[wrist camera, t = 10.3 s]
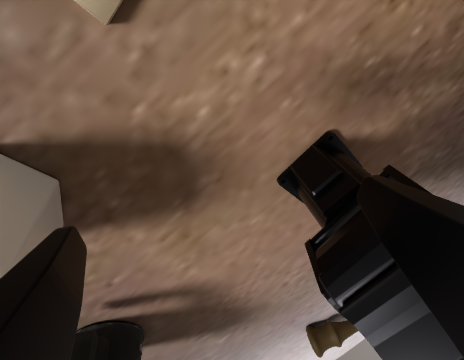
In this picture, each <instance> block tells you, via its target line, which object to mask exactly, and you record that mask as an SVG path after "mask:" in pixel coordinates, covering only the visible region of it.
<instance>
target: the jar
mask: <svg viewBox="0 0 464 360" xmlns="http://www.w3.org/2000/svg"><path fill="white" fill-rule="evenodd" d="M63 225H64V222H63V213H62V204H61V195H60V186H59V181H58V180H57V179H54V178H52V177H50V176H48V175H46V174H43V173H41V172H39V171H37V170H35V169H33V168H30V167H28V166H26V165H24V164H22V163H19V162H17V161H15V160H13V159H11V158H8V157H6V156H4V155H2V154H0V278H1V277H2V276H4V275H5V274H6V273H7V272H8V271H9V270H10V269H11V268H13V267H14V266H15V265H16V264H17V263H18V262H19V261H20V260H21V259H23V258H24V257H25V256H26V255H27V254H28V253H29V252H30V251H32V250H33V249H34V248H35V247H36V246H37V245H38V244H39V243H40V242H42V241H43V240H44V239H45V238H46V237H47V236H48V235H49V234H51V233H52V232H53V231H54V230H55V229H57V228H61V227H63Z"/></svg>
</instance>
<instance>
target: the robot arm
mask: <svg viewBox="0 0 464 360" xmlns="http://www.w3.org/2000/svg"><path fill="white" fill-rule="evenodd" d="M329 136H331V137H330V138H329ZM328 138H329V139H328ZM283 179H284V180H283ZM282 180H283V181H282ZM277 182H278V183H279V185H280V186H282V187H283V188H284V189H286V190H287V191H288V192H289V193H291V194H292V195H293V196H295V197H296V198H297V199H299V200H300V201H301V202H303V203H304V204H305V205H306V206H307V208H308V209H309V210H310V212H311V213H312V215H313V216H314V217H315V219H316V220H317V222H318V223H319V224H320V226H321V227H322V229H321V230H320V231H319V232H318V233H317V234H316V235H315V236H314V237H313V238H312V239H309V240H308V241H307V242H306V243H305V247H306V250H307V253H308V256H309V259H310V262H311V265H312V268H313V271H314V274H315V277H316V280H317V283H318V286H319V289H320V291H321V293H322V295H323V296H324V297H325V298H326V299H327V301H328V302H329V303H330V304H331V305H332V306H333V307H334V308H335V309H336V310H337V311H338V312H339V313H340V314H341V315H342V316H344V317H345V318H346V319H347V320H348V321H349V322H350V323H352V324H353V325H354V326H355V327H356V328H357V329H358V331H359V332H360V333H361V334H362V335H363V336H364V337H365V338H366V339H367V341H368V342H369V343H370V344H371V345H372V347H373V348H374V349H375V350H376V352H377V353H378V354H379V356H380V357H381V358H382V359H383V360H464V206H463V205H460V204H457V203H455V202H452V201H449V200H446V199H444V198H441V197H438V196H435V195H433V194H431V193H430V192H428V191H427V190H426V189H424V188H423V187H421V186H420V185H418V184H417V183H415V182H414V181H412V180H411V179H409V178H408V177H407V176H405V175H404V174H402V173H401V172H399V171H398V170H396V169H395V168H393V167H392V166H390V165H387V166H386V167H385V168H384V169H383V172H382V173H381V174H380V175H371V174H369V173H368V172H367V171H366V170H365V169H363V168H362V165H361V164H360V163H359V162H358V161H357V159H356V158H355V157H354V156H353V155H352V154H351V152H350V151H349V150H348V149H347V148H346V146H345V145H344V144H343V143H342V142H341V140H340V139H339V138H338V137H337V136H336V134H334V133H333V132H332V131H328V132H326V133H325V134H324V135H323V136H322V137H321V138H319V139H318V140H317V141H316V142H315V143H314V144H313V145H312V146H311V147H310V148H309V149H308V150H307V151H306V152H304V153H303V154H302V155H301V156H300V157H299V158H298V159H297V160H296V161H295V162H294V163H293V164H292V165H290V166H289V167H288V168H287V169H286V170H285V171H284V172H283V173H282V174H281V175H280V176H279V177H278V178H277ZM86 256H87V249H86V245H85V243H84V241H83V239H82V238H81V236H80V234H79V232H78V230H77V229H76V228H75V227H74V226H67V227H61V228H57V229H55V230H54V231H53V232H52V233H51V234H49V235H48V236H47V237H46V238H45V239H44V240H43V241H42V242H40V243H39V244H38V245H37V246H36V247H35V248H34V249H33V250H32V251H30V252H29V253H28V254H27V255H26V256H25V257H24V258H23V259H21V260H20V261H19V262H18V263H17V264H16V265H15V266H14V267H13V268H11V269H10V270H9V271H8V272H7V273H6V274H5V275H4V276H2V277H1V278H0V360H70V358H71V354H72V349H73V345H74V340H75V335H76V331H77V326H78V321H79V317H80V312H81V306H82V298H83V288H84V277H85V267H86Z"/></svg>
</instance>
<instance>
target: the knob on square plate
mask: <svg viewBox="0 0 464 360" xmlns="http://www.w3.org/2000/svg"><path fill="white" fill-rule="evenodd" d="M74 1H76V2H77V3H78V4H79V5H81V6H82V7H83V8H84V9H85V10H87V11H88V12H89V13H90V14H92V15H93V16H94V17H95V18H96V19H98V20H99V21H100V22H101V23H103V24H104V25H105V26H106V25H108V24H109V23H110V21H111V19H112V18H113V16H114V14H115V13H116V11H117V10H118V8H119V6H120V5H121V3H122V2H123V0H74Z"/></svg>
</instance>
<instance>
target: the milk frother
mask: <svg viewBox="0 0 464 360" xmlns="http://www.w3.org/2000/svg"><path fill="white" fill-rule="evenodd" d="M143 340H144V332H143V330H142V329H141V328H140V327H138V326H136V325H134V324H130V323H122V322H111V323H103V324H96V325H92V326H88V327H85V328H83V329H81V330H79V331H77V332H76V335H75V340H74V345H73V349H72V354H71V358H70V360H141V355H142V342H143Z"/></svg>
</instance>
